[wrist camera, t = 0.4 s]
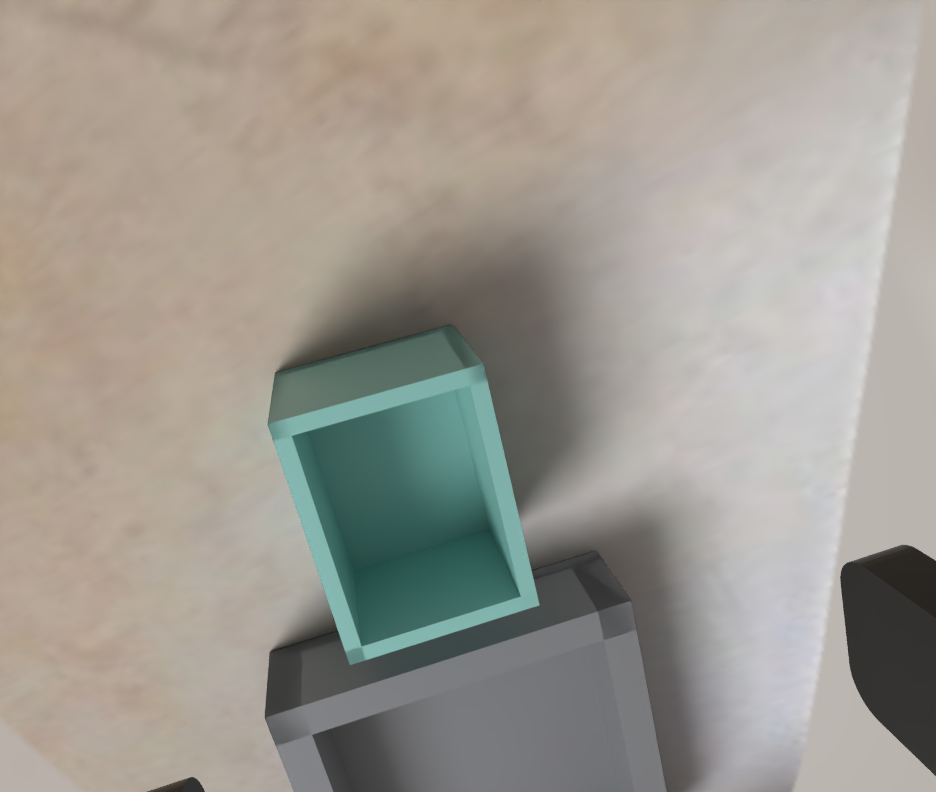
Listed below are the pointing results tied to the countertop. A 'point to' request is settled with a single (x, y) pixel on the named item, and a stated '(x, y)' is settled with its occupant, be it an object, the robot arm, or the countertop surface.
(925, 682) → the robot arm
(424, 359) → the small crate
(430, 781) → the large crate
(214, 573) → the countertop surface
